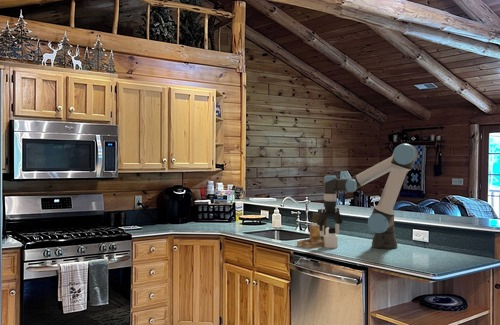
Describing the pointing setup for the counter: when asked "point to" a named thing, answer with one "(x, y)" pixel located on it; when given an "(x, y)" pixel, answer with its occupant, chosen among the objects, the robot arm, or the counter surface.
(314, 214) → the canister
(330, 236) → the medicine bottle
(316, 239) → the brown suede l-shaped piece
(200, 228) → the counter surface
